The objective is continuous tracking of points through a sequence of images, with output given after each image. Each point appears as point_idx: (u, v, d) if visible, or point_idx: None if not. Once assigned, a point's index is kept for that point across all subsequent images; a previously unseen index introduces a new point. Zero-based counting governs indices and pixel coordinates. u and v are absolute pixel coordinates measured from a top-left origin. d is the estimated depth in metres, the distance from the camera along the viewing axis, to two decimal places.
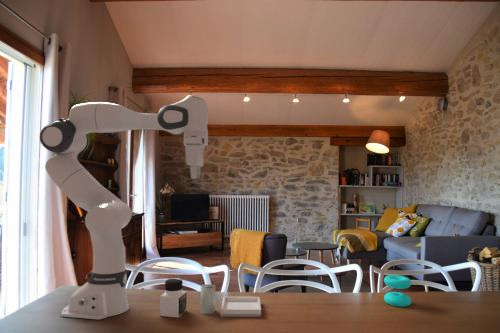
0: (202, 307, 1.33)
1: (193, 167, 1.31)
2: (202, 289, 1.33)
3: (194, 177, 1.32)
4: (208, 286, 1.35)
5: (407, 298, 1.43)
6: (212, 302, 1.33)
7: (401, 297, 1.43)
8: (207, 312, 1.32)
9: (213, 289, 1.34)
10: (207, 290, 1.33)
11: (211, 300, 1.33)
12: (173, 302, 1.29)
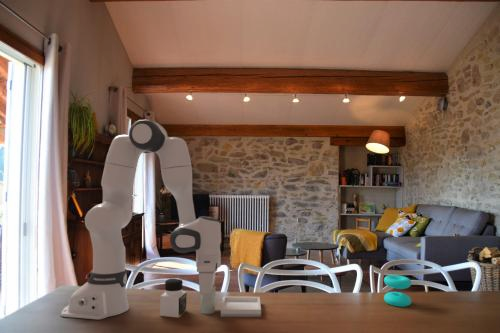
0: (202, 307, 1.33)
1: None
2: None
3: (207, 302, 1.31)
4: None
5: (407, 298, 1.43)
6: (212, 302, 1.33)
7: (401, 297, 1.43)
8: (207, 312, 1.32)
9: (213, 289, 1.34)
10: None
11: (212, 300, 1.33)
12: (173, 302, 1.29)
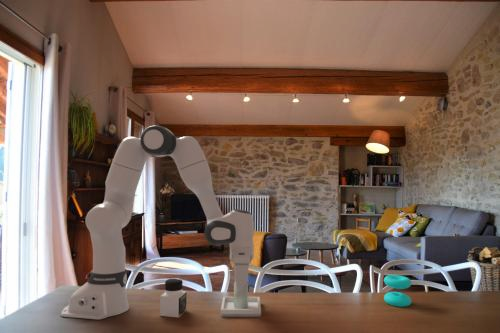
0: (236, 302, 1.35)
1: (241, 285, 1.31)
2: None
3: (242, 294, 1.32)
4: None
5: (407, 298, 1.43)
6: (246, 297, 1.35)
7: (401, 297, 1.43)
8: (241, 307, 1.35)
9: (246, 285, 1.36)
10: None
11: (245, 296, 1.35)
12: (173, 302, 1.29)
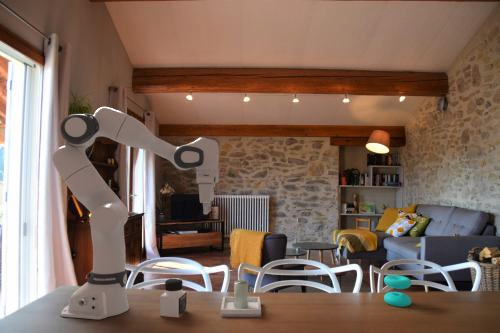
0: (236, 302, 1.35)
1: (205, 204, 1.42)
2: (236, 285, 1.35)
3: (206, 213, 1.43)
4: (241, 282, 1.37)
5: (407, 298, 1.43)
6: (246, 297, 1.35)
7: (401, 297, 1.43)
8: (241, 307, 1.35)
9: (246, 285, 1.36)
10: (241, 286, 1.35)
11: (245, 296, 1.35)
12: (173, 302, 1.29)
